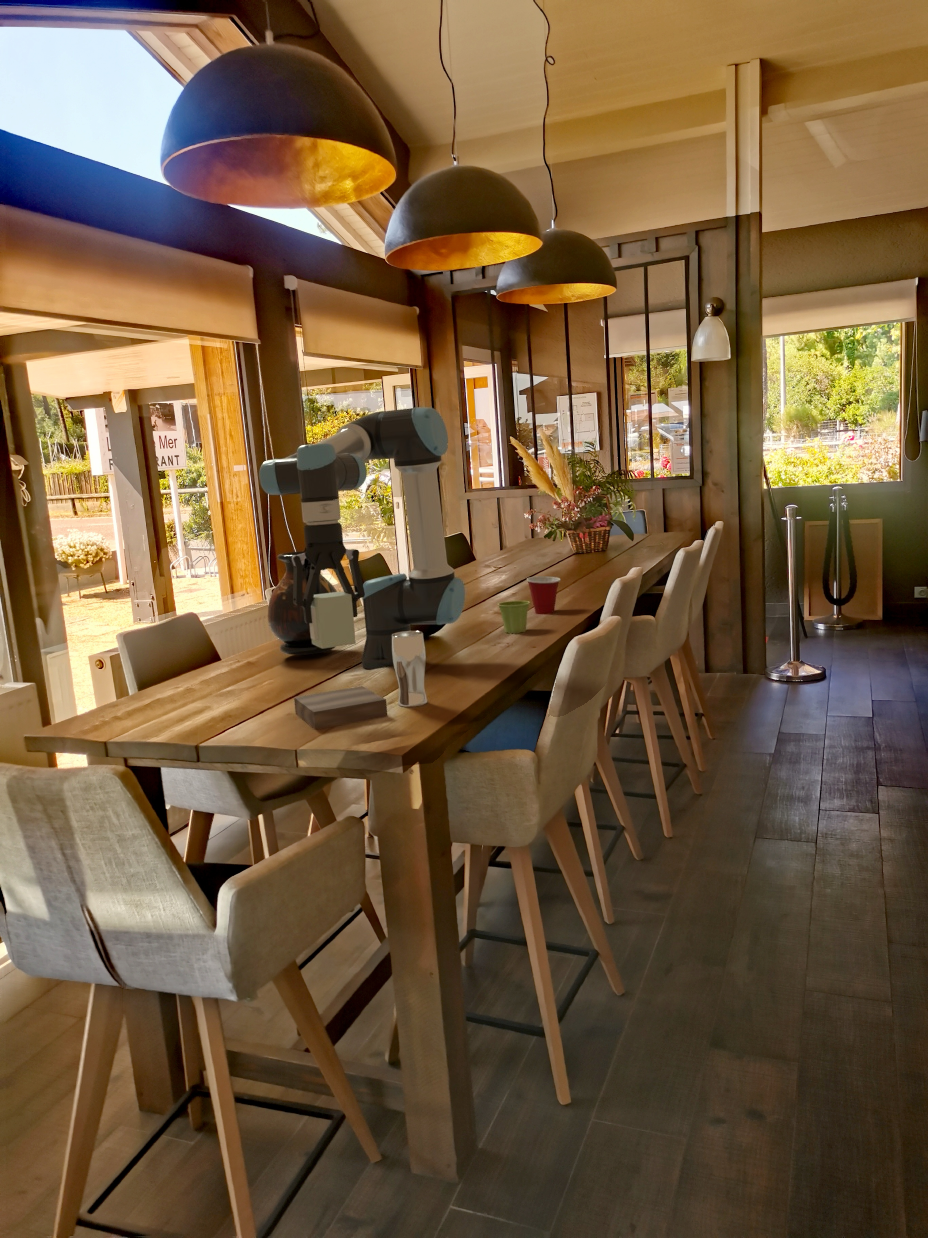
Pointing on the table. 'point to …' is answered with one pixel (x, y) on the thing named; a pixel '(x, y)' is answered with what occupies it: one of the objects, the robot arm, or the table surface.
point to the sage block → (334, 619)
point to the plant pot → (514, 615)
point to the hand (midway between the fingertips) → (332, 636)
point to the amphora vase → (294, 610)
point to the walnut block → (340, 707)
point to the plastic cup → (543, 593)
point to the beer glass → (409, 667)
